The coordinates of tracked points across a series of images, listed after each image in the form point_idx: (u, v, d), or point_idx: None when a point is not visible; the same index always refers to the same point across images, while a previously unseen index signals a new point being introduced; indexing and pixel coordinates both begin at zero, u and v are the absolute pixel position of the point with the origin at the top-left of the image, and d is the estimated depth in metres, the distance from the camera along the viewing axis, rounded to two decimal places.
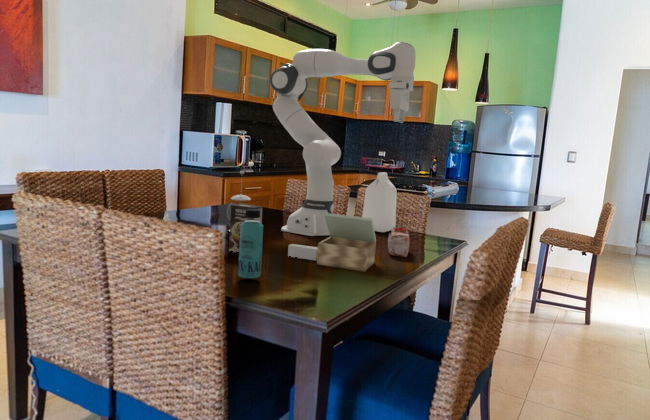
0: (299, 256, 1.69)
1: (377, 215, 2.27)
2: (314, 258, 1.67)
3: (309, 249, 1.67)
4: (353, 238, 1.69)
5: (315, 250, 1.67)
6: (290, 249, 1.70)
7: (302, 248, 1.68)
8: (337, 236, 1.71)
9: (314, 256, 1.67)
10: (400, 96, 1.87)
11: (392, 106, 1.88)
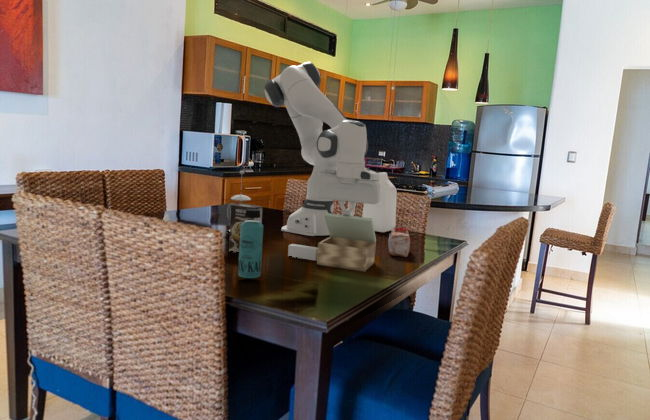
0: (299, 256, 1.69)
1: (377, 215, 2.27)
2: (314, 258, 1.67)
3: (309, 249, 1.67)
4: (353, 238, 1.69)
5: (315, 250, 1.66)
6: (290, 249, 1.70)
7: (302, 248, 1.68)
8: (337, 236, 1.71)
9: (314, 256, 1.67)
10: None
11: (377, 202, 1.57)
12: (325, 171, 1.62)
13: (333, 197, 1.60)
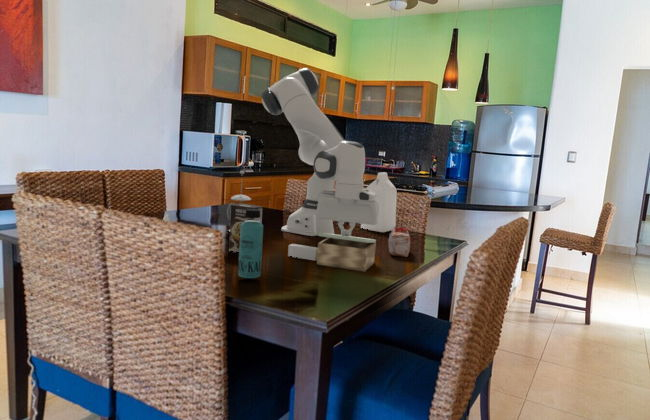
0: (299, 256, 1.69)
1: None
2: (314, 258, 1.67)
3: (309, 249, 1.67)
4: None
5: (315, 250, 1.66)
6: (290, 249, 1.70)
7: (302, 248, 1.68)
8: None
9: (314, 256, 1.67)
10: (378, 210, 1.59)
11: (376, 223, 1.57)
12: (324, 192, 1.62)
13: (332, 218, 1.61)
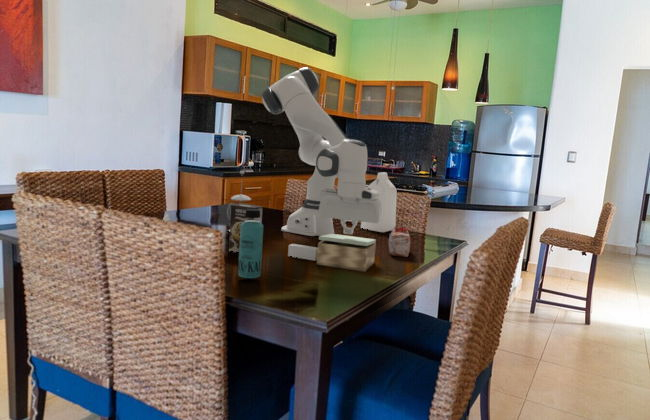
0: (299, 256, 1.69)
1: None
2: (314, 258, 1.67)
3: (309, 249, 1.67)
4: None
5: (315, 250, 1.66)
6: (290, 249, 1.70)
7: (302, 248, 1.68)
8: None
9: (314, 256, 1.67)
10: None
11: (378, 221, 1.58)
12: (326, 190, 1.63)
13: (334, 216, 1.61)
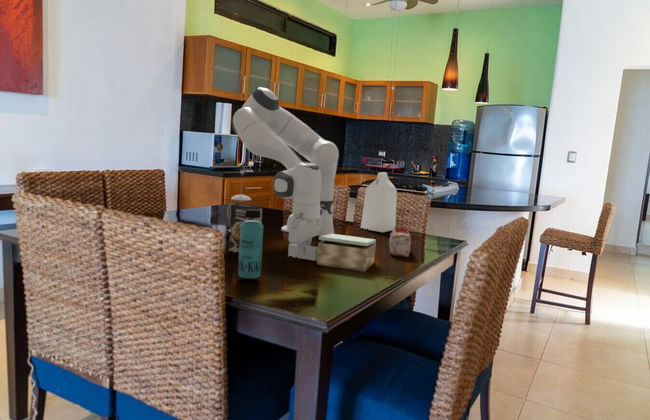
0: (299, 255, 1.69)
1: (377, 215, 2.27)
2: (314, 258, 1.67)
3: (309, 248, 1.67)
4: None
5: (315, 250, 1.66)
6: (290, 248, 1.70)
7: None
8: None
9: (314, 256, 1.67)
10: None
11: None
12: (298, 216, 1.60)
13: (304, 239, 1.64)
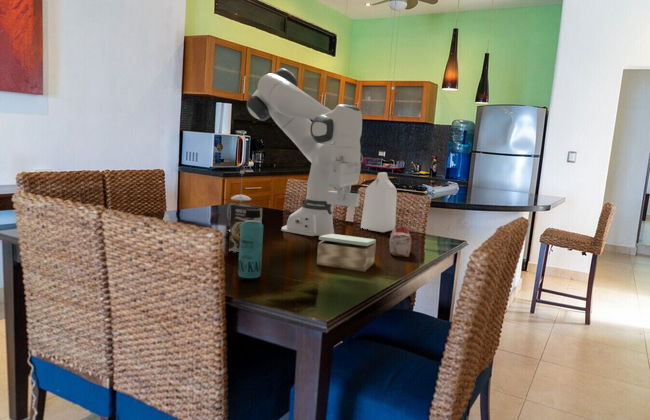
0: (338, 202, 1.61)
1: (377, 215, 2.27)
2: (354, 204, 1.59)
3: (349, 195, 1.60)
4: None
5: (355, 195, 1.59)
6: (329, 195, 1.62)
7: None
8: None
9: (354, 202, 1.59)
10: None
11: None
12: (338, 158, 1.53)
13: (345, 184, 1.57)
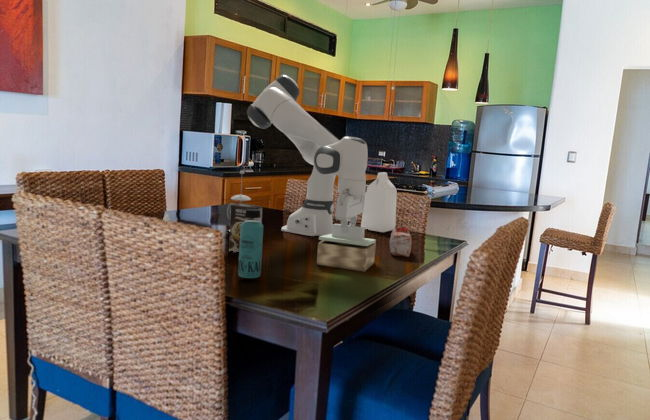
0: (344, 235, 1.63)
1: (377, 215, 2.27)
2: (359, 237, 1.61)
3: (354, 228, 1.61)
4: None
5: (361, 229, 1.61)
6: (334, 228, 1.64)
7: None
8: None
9: (360, 235, 1.61)
10: None
11: None
12: (345, 191, 1.54)
13: (351, 216, 1.58)
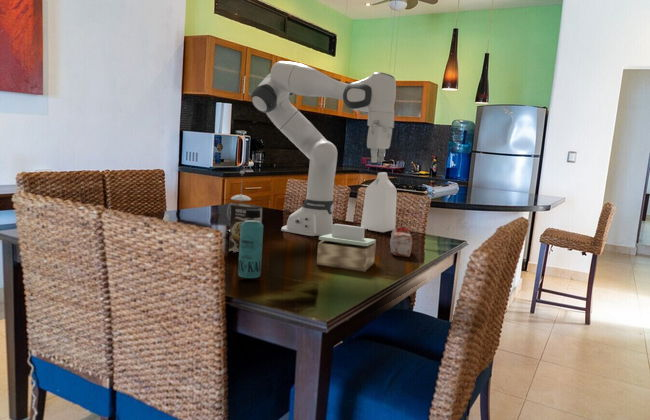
0: (344, 235, 1.63)
1: (377, 215, 2.27)
2: (359, 237, 1.61)
3: (354, 228, 1.61)
4: None
5: (361, 229, 1.61)
6: (334, 228, 1.64)
7: (347, 227, 1.62)
8: None
9: (360, 235, 1.61)
10: None
11: None
12: (376, 121, 1.64)
13: (380, 146, 1.69)
